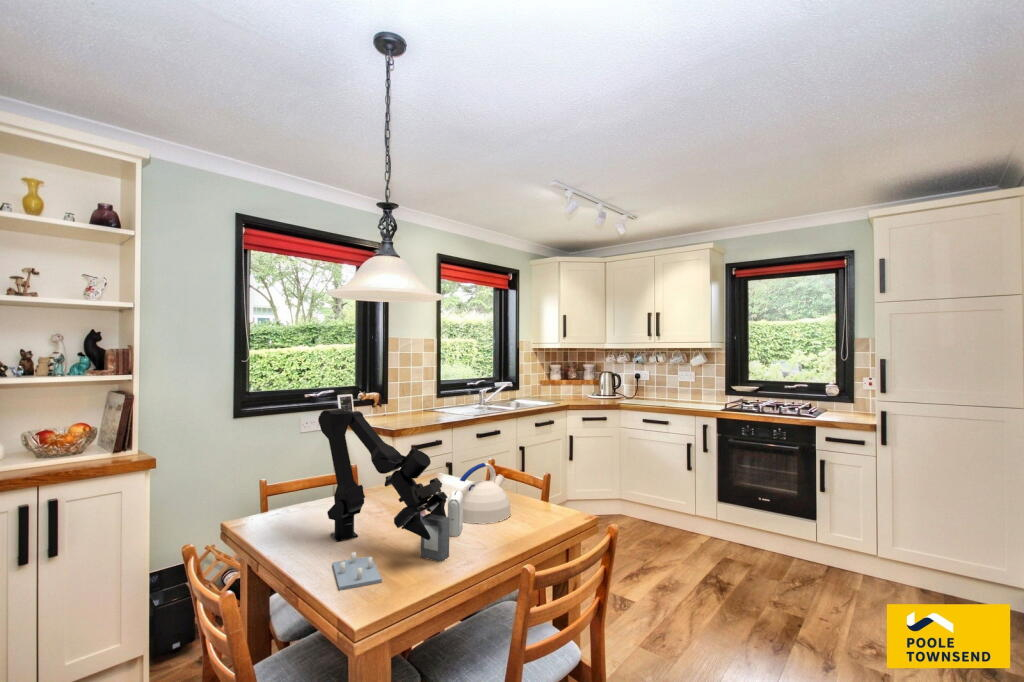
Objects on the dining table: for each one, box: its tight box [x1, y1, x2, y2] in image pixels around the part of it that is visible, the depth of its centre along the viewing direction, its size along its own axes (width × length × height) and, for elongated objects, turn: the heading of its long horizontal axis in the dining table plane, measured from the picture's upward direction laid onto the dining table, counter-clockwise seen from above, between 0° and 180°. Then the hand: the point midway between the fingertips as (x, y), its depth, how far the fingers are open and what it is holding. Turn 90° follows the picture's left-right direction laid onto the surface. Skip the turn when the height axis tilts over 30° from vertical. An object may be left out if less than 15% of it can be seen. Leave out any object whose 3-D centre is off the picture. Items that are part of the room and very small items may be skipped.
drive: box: [420, 513, 450, 563], centre depth 135 cm, size 7×4×11 cm, turn 65°
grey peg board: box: [332, 551, 383, 591], centre depth 124 cm, size 15×10×3 cm, turn 26°
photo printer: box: [447, 489, 464, 537], centre depth 155 cm, size 10×4×12 cm, turn 0°
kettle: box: [459, 462, 512, 525], centre depth 171 cm, size 20×21×18 cm
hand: (439, 533), depth 134 cm, fingers open, 9 cm apart
